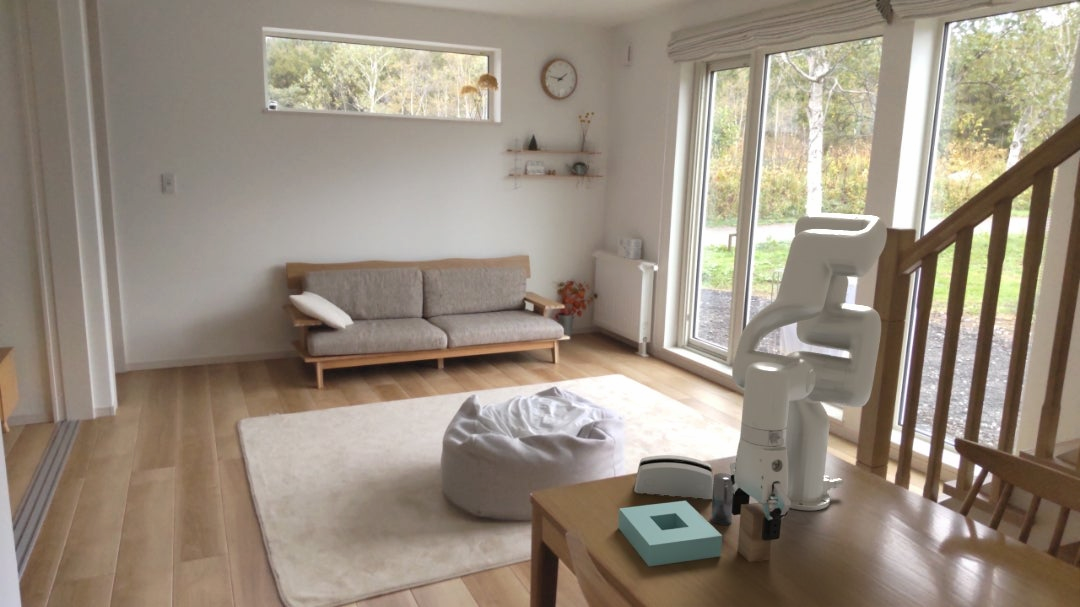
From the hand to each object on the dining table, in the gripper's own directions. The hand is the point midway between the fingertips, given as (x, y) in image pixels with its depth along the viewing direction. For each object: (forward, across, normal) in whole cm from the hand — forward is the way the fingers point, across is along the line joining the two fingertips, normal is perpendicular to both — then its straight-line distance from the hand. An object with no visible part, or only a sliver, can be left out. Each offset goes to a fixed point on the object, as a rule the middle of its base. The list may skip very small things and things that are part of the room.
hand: (754, 526), depth 128 cm
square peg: (+6, +1, -1) cm, 6 cm away
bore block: (+6, +9, +12) cm, 16 cm away
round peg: (+6, +14, -2) cm, 15 cm away
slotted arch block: (+6, +26, +2) cm, 27 cm away
